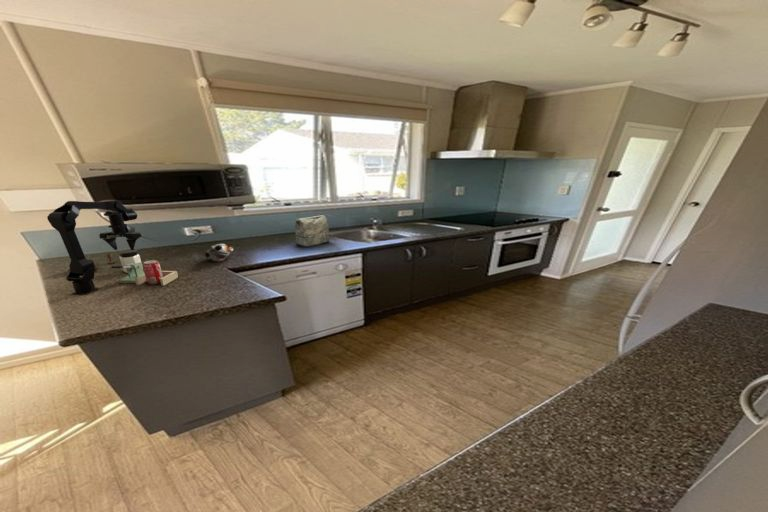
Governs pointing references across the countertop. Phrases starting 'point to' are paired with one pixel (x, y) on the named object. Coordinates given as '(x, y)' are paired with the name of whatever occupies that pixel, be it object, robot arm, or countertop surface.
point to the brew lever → (123, 267)
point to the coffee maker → (132, 273)
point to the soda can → (152, 271)
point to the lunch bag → (312, 230)
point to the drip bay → (166, 278)
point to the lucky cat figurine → (218, 252)
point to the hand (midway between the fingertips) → (124, 250)
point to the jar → (129, 258)
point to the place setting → (107, 257)
